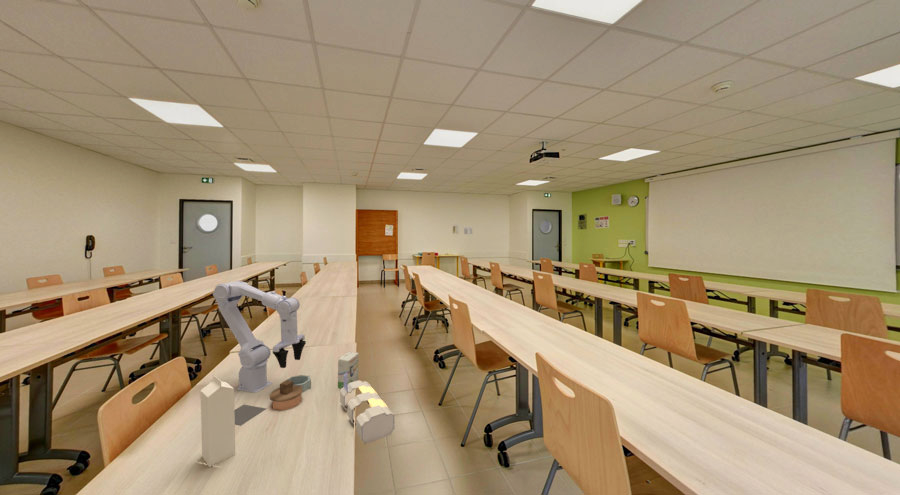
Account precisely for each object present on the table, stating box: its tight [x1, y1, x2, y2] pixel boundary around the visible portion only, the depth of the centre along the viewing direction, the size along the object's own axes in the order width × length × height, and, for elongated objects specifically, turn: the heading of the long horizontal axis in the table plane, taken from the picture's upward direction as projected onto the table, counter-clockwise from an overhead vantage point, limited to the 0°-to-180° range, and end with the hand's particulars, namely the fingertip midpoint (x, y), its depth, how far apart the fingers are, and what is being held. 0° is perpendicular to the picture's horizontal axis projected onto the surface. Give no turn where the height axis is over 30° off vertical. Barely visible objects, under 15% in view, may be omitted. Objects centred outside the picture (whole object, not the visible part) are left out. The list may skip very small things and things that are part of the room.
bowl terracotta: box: [272, 393, 302, 411], centre depth 111 cm, size 9×9×4 cm
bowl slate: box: [286, 374, 312, 393], centre depth 122 cm, size 9×9×4 cm
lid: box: [269, 379, 303, 402], centre depth 111 cm, size 10×10×4 cm
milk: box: [200, 374, 236, 468], centre depth 84 cm, size 6×6×22 cm
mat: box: [234, 404, 268, 427], centre depth 104 cm, size 10×10×1 cm
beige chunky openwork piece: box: [339, 373, 396, 445], centre depth 102 cm, size 25×10×13 cm, turn 33°
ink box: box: [337, 351, 360, 389], centre depth 126 cm, size 9×5×12 cm, turn 168°
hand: (290, 363), depth 121 cm, fingers open, 7 cm apart
